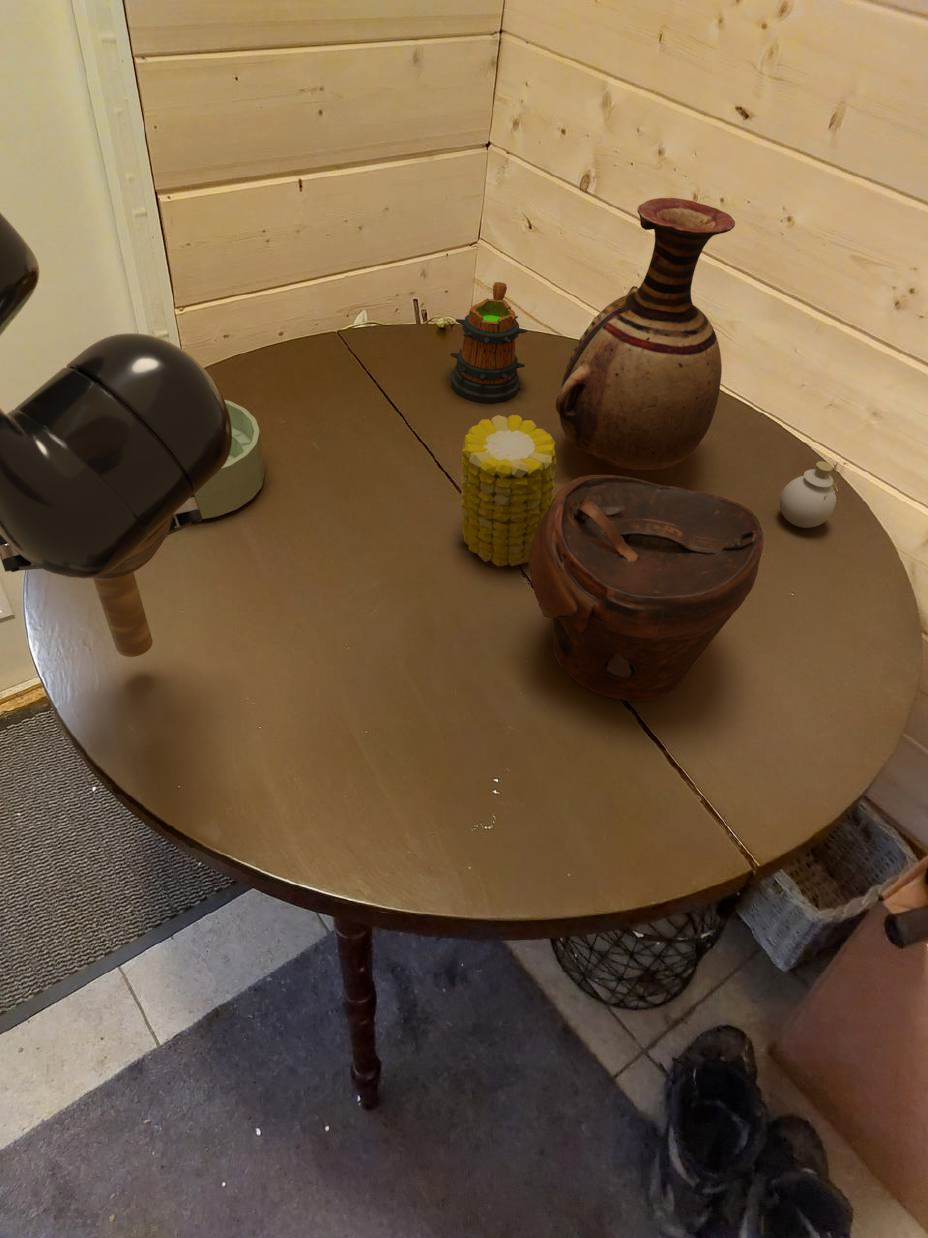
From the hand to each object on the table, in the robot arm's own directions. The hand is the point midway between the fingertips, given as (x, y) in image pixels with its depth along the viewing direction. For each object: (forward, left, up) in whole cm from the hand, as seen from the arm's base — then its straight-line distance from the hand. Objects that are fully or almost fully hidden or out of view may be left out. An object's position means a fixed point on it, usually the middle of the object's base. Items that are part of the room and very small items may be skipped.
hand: (101, 542), depth 65 cm
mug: (+49, +40, -15) cm, 65 cm away
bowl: (+8, +26, -15) cm, 31 cm away
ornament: (+74, +1, -15) cm, 76 cm away
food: (+38, +7, -15) cm, 42 cm away
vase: (+59, +18, -15) cm, 64 cm away
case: (+43, -11, -15) cm, 47 cm away
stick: (0, -2, -10) cm, 10 cm away
